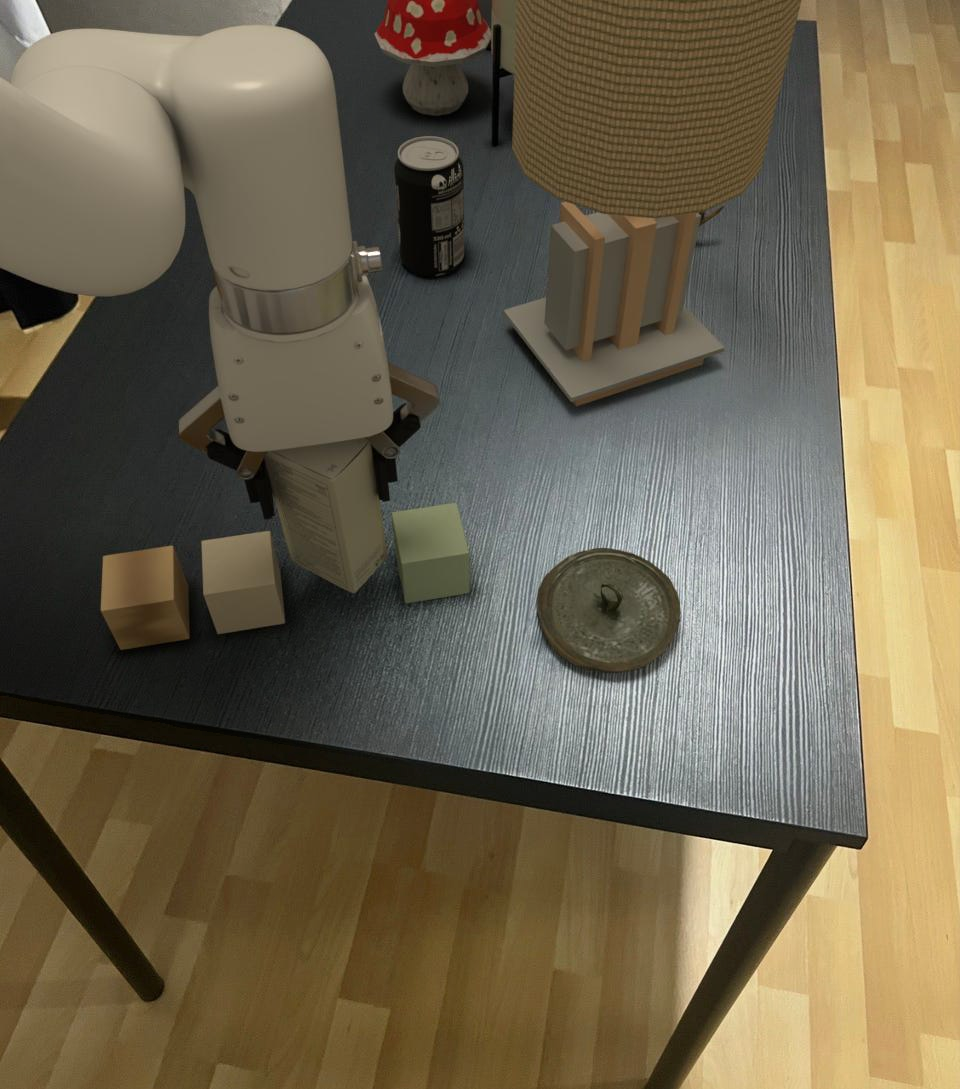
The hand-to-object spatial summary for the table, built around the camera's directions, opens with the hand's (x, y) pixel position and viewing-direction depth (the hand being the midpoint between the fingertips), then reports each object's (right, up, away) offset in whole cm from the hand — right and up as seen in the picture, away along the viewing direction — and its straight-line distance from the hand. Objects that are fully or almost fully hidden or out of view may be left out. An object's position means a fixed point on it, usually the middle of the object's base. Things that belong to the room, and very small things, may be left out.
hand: (325, 493), depth 68 cm
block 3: (+7, -6, +9) cm, 13 cm away
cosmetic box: (0, -5, +6) cm, 7 cm away
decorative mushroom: (+5, +51, +55) cm, 76 cm away
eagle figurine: (+31, +30, +39) cm, 58 cm away
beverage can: (+6, +26, +35) cm, 44 cm away
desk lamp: (+23, +15, +26) cm, 38 cm away
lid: (+20, -9, +7) cm, 23 cm away
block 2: (-7, -8, +7) cm, 13 cm away
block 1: (-14, -9, +7) cm, 18 cm away
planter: (+20, +46, +52) cm, 72 cm away
